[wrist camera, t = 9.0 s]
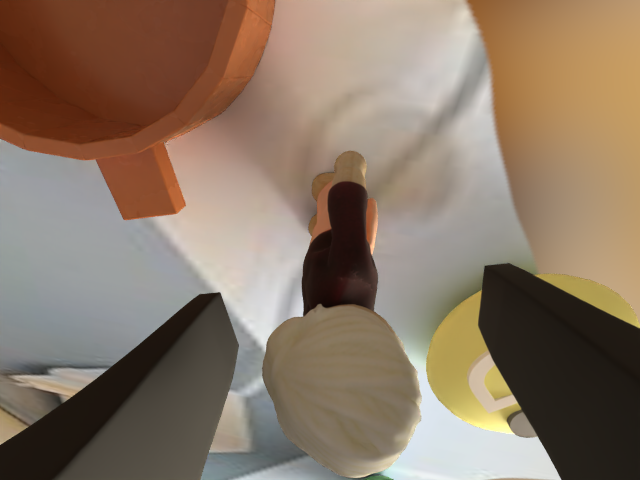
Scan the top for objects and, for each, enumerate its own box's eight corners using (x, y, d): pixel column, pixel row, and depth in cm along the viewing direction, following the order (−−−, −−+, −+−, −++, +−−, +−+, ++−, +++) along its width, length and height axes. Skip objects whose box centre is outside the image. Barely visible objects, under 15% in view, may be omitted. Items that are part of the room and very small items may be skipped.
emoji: (393, 365, 18) (492, 479, 21) (627, 250, 14) (701, 410, 17) (384, 319, 21) (470, 424, 25) (569, 219, 18) (640, 357, 21)
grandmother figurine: (372, 262, 19) (437, 552, 7) (306, 264, 19) (272, 550, 8) (376, 122, 15) (513, 272, 4) (295, 127, 15) (194, 281, 4)
